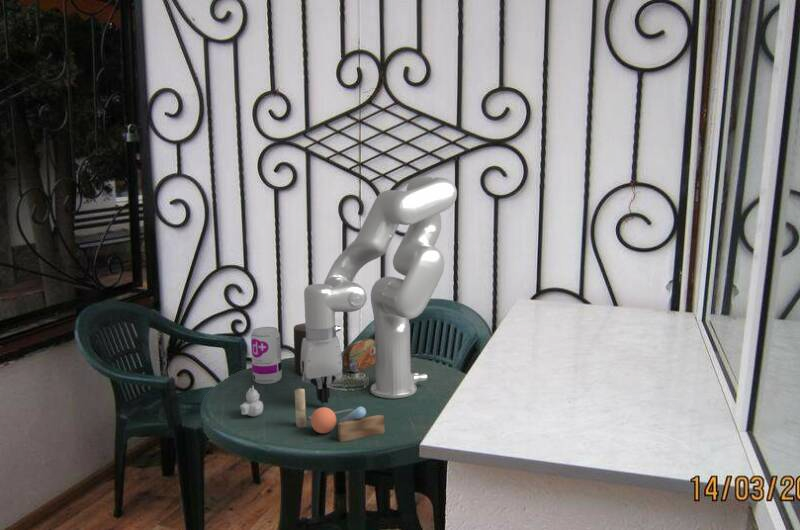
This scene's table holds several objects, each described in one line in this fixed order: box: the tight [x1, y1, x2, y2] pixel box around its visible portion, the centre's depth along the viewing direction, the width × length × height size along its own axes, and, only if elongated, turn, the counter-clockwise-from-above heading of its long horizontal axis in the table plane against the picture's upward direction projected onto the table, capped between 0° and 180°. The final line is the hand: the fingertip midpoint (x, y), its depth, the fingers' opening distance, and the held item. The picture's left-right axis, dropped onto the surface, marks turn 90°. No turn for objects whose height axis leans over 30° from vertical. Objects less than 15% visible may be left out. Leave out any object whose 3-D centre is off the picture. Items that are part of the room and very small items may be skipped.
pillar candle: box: [293, 322, 306, 376], centre depth 215 cm, size 10×10×15 cm
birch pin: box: [294, 388, 307, 429], centre depth 174 cm, size 2×2×9 cm
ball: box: [310, 406, 337, 434], centre depth 170 cm, size 6×6×6 cm
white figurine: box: [239, 385, 264, 417], centre depth 181 cm, size 5×7×8 cm
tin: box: [342, 338, 376, 374], centre depth 217 cm, size 15×3×8 cm, turn 147°
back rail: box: [337, 413, 386, 443], centre depth 167 cm, size 11×2×4 cm, turn 116°
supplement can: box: [250, 326, 283, 385], centre depth 207 cm, size 8×8×15 cm
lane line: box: [307, 408, 355, 420], centre depth 182 cm, size 12×1×1 cm, turn 116°
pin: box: [339, 406, 367, 423], centre depth 170 cm, size 2×2×9 cm
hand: (323, 401), depth 186 cm, fingers closed
